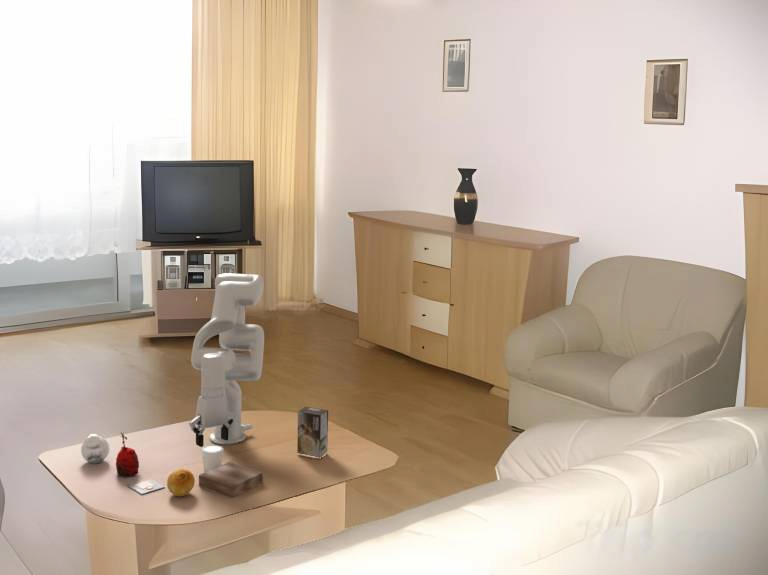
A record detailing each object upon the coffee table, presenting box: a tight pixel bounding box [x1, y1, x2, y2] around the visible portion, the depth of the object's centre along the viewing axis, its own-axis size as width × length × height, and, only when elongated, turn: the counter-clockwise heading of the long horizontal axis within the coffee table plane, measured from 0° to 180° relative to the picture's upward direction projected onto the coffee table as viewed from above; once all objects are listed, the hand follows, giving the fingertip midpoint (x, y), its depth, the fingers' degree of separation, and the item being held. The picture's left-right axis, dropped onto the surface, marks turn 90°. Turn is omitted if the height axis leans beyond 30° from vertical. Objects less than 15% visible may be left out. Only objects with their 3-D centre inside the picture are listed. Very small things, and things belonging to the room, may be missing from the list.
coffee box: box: [296, 406, 329, 458], centre depth 304 cm, size 9×6×16 cm
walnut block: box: [198, 461, 264, 498], centre depth 278 cm, size 14×14×4 cm
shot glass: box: [201, 444, 224, 472], centre depth 289 cm, size 7×7×7 cm
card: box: [127, 478, 165, 496], centre depth 273 cm, size 8×8×1 cm
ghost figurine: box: [80, 433, 110, 464], centre depth 290 cm, size 9×10×10 cm
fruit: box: [166, 468, 196, 497], centre depth 269 cm, size 8×8×8 cm
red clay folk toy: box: [115, 432, 140, 477], centre depth 281 cm, size 8×7×15 cm
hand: (212, 442), depth 287 cm, fingers open, 9 cm apart
